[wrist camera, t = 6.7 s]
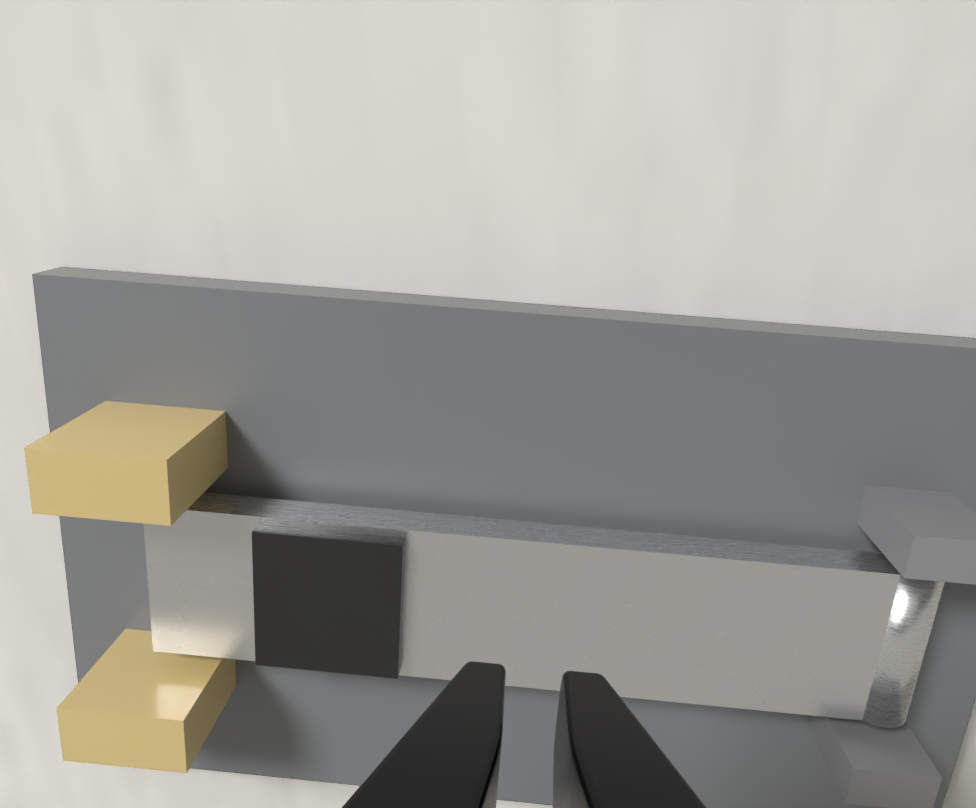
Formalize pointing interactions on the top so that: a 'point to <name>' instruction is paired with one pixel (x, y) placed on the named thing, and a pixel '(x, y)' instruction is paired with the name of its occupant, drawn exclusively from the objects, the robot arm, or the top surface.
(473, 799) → the robot arm
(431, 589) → the strap
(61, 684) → the top surface
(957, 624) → the hinge plate
